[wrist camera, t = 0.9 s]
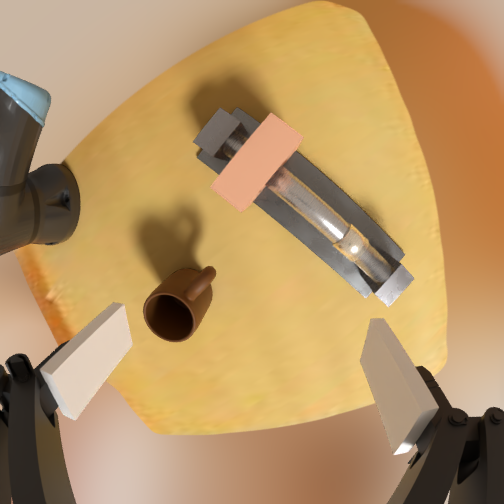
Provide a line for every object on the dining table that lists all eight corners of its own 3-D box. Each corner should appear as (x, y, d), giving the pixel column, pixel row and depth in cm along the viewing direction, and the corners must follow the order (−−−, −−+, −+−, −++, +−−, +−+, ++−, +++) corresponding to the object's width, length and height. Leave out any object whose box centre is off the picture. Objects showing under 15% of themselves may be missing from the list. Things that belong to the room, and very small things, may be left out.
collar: (227, 185, 35) (209, 187, 26) (273, 129, 33) (271, 112, 24) (251, 203, 36) (241, 212, 27) (297, 148, 33) (303, 137, 24)
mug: (205, 236, 39) (183, 253, 30) (243, 271, 40) (233, 298, 31) (159, 288, 42) (132, 315, 33) (194, 320, 43) (174, 353, 34)
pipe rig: (197, 157, 36) (178, 153, 29) (237, 108, 34) (227, 91, 26) (364, 296, 39) (380, 320, 31) (403, 253, 36) (426, 269, 29)
